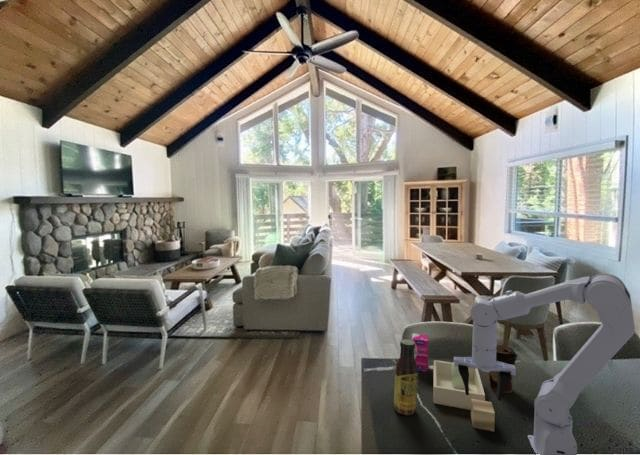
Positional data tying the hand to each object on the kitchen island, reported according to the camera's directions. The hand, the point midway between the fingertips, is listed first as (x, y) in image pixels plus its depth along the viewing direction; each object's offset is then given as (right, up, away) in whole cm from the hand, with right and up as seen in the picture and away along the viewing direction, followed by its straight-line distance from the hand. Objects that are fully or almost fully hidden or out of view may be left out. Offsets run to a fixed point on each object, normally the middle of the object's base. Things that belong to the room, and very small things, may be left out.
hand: (482, 395), depth 86 cm
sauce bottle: (-19, -8, +6) cm, 21 cm away
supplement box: (-7, -6, +31) cm, 32 cm away
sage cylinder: (+1, -6, +17) cm, 18 cm away
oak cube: (0, -8, 0) cm, 8 cm away
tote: (-1, -7, +15) cm, 17 cm away
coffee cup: (+14, -7, +17) cm, 23 cm away
